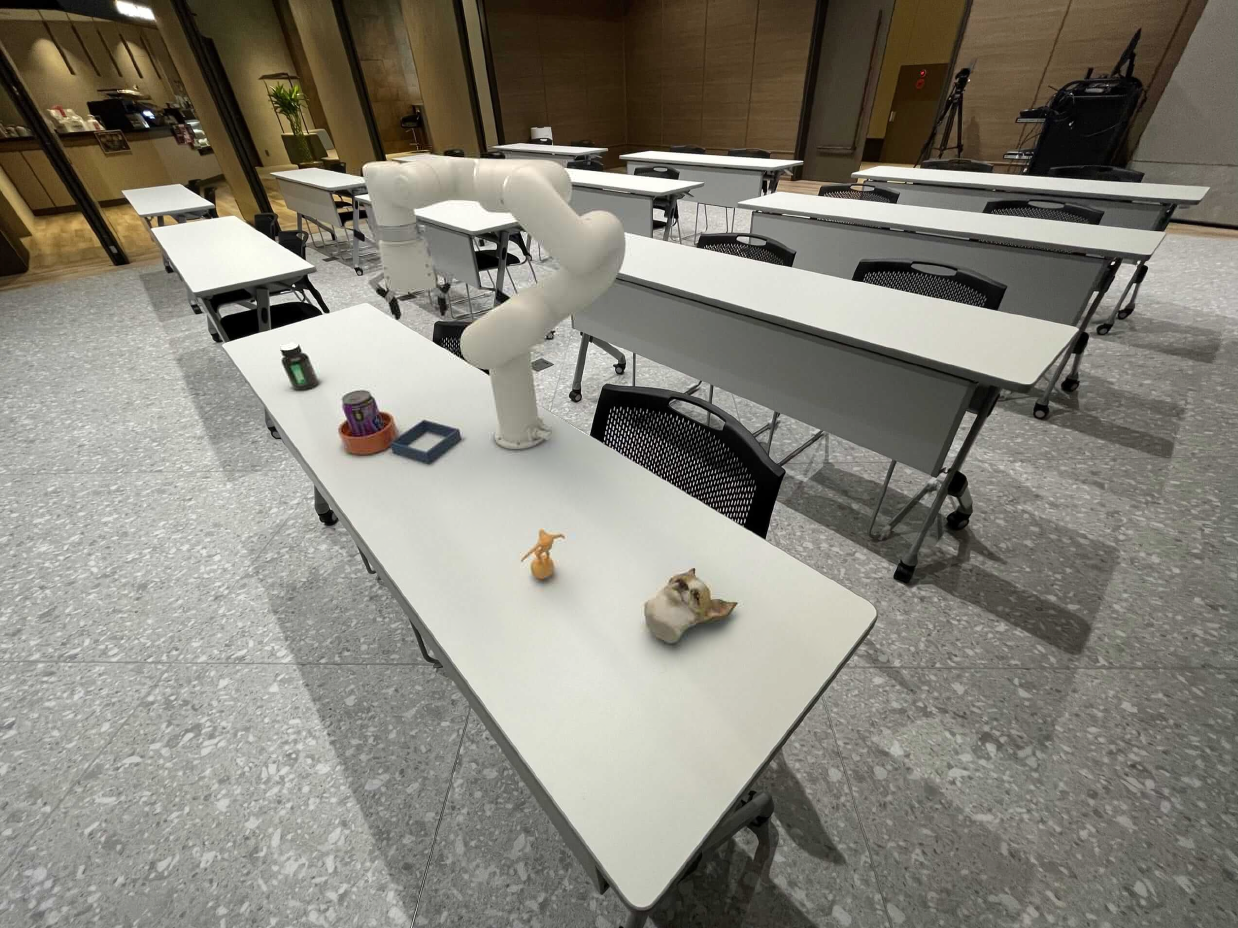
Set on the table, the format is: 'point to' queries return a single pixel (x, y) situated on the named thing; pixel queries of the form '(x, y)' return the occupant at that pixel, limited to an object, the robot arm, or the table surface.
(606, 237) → the robot arm
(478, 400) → the table surface
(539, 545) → the figurine
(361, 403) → the beverage can
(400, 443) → the blue square frame
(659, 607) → the ceramic sculpture
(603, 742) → the table surface
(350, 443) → the bowl
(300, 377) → the supplement bottle
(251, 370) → the table surface
